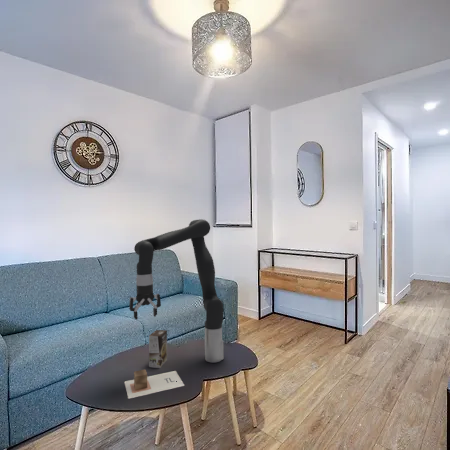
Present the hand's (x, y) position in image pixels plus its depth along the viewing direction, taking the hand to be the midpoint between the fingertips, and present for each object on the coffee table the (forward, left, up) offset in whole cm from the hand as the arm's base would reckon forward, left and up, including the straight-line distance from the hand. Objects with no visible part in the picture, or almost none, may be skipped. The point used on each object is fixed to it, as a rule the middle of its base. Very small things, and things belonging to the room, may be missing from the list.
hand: (145, 317), depth 142 cm
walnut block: (+4, +8, -28) cm, 29 cm away
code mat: (-2, +8, -28) cm, 29 cm away
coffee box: (-8, -11, -28) cm, 31 cm away
